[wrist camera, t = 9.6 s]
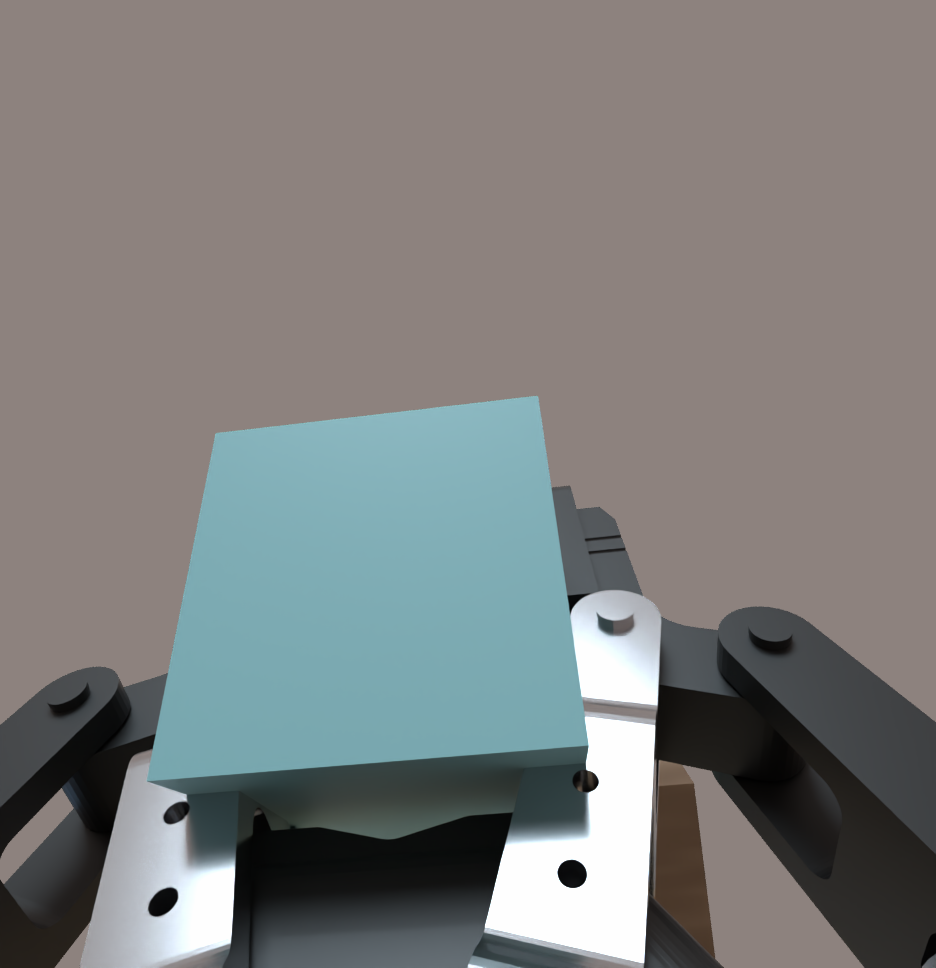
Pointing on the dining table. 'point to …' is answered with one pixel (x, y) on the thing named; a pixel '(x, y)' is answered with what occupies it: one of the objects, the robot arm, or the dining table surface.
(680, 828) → the walnut stand
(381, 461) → the teal bar
